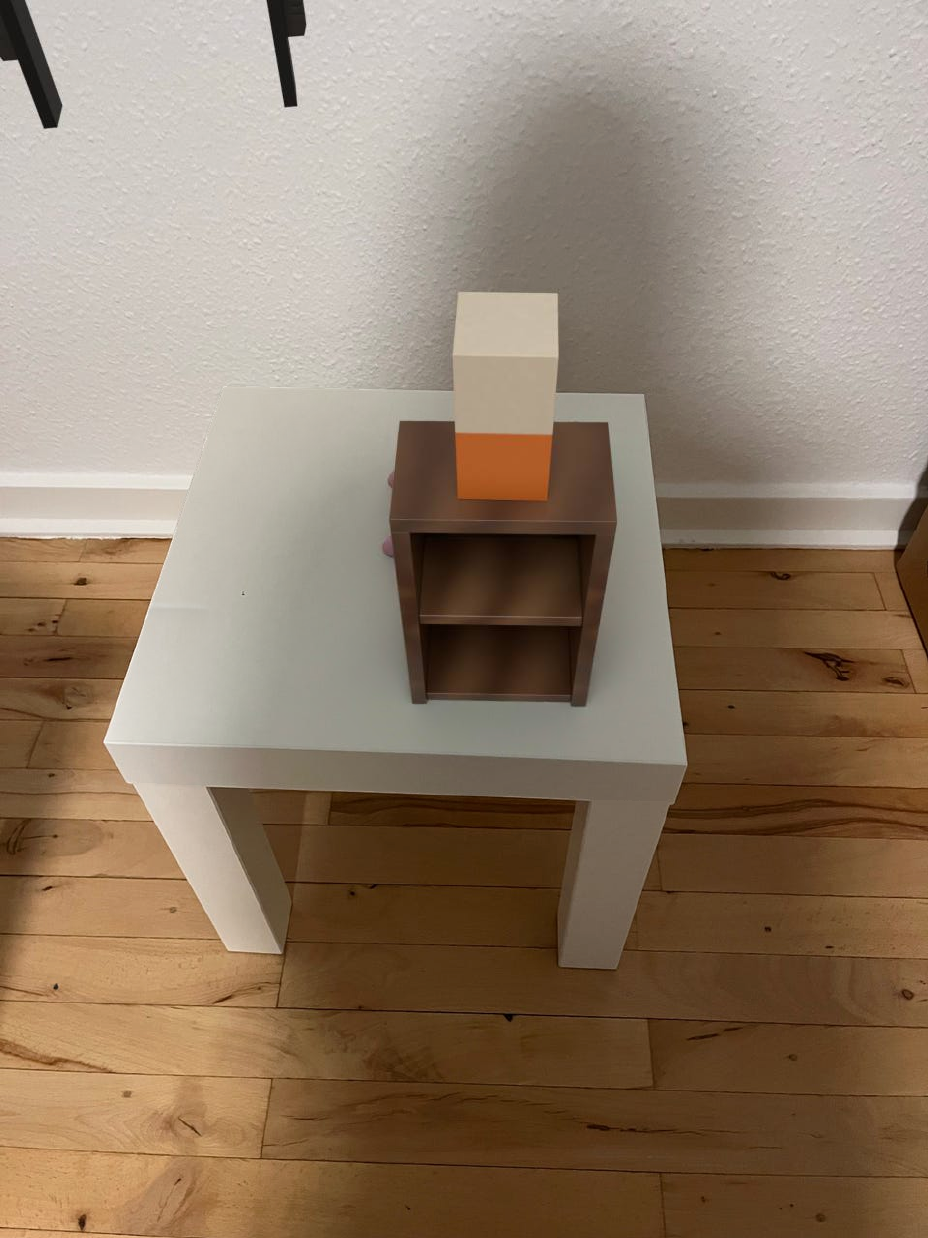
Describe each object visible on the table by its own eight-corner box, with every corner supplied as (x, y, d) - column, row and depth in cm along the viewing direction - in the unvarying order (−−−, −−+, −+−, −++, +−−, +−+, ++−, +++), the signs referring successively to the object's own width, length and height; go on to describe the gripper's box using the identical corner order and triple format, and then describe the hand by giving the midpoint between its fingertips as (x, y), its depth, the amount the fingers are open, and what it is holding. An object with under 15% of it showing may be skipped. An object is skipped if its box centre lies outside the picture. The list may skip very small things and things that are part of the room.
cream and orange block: (457, 499, 58) (452, 354, 49) (462, 437, 61) (458, 291, 52) (547, 501, 57) (558, 356, 48) (547, 439, 61) (557, 292, 52)
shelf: (411, 704, 74) (388, 519, 57) (418, 614, 80) (399, 420, 62) (585, 707, 74) (617, 521, 56) (580, 616, 79) (608, 421, 62)
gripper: (-341, -425, 33) (-61, 158, 50) (347, -457, 35) (392, 117, 52) (-274, -449, 38) (-37, 95, 55) (335, -476, 39) (380, 59, 57)
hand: (173, 107), depth 54 cm, fingers open, 13 cm apart
